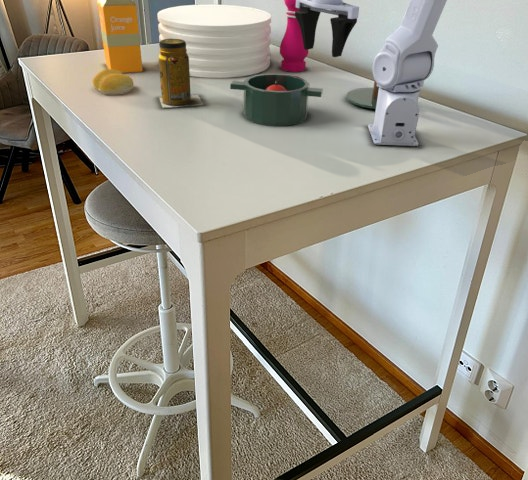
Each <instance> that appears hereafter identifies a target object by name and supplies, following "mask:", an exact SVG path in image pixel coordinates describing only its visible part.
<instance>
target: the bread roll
mask: <svg viewBox="0 0 528 480" xmlns="http://www.w3.org/2000/svg"><path fill="white" fill-rule="evenodd" d="M92 85H93V87H94V89H95V90H96V91H98V92H100V93H101V94H104V95H107V96H110V95H113V96H114V95H116V96H117V95H124V94H127V93H129V92H131V91H132V90H133V89H134V80H133V79H132V77H131V76H129V75H128V74H124V73H121V72H119V71H117V70H114V69H108V68H105V69H102V70H100V71H99V72H97V74H95V75H94V77H93V78H92Z"/></svg>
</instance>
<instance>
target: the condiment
mask: <svg viewBox="0 0 528 480" xmlns="http://www.w3.org/2000/svg"><path fill="white" fill-rule="evenodd" d="M158 45H159V55H158V66H159V67H158V69H159V78H160V79H159V81H160V82H159V83H160V90H161V96H159V97H158V98H159V101H160V104H161V107H162V109H163V108H182V107H195V106H203V105H204V103H203V102H202V100H201V98H200V95H199V94H191V76H190V73H189V57H188V55H187V53H186V52H187V49H186V42H185V41H184V40H181V39H164V40H161V41H159V43H158Z"/></svg>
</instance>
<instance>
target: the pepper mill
mask: <svg viewBox="0 0 528 480" xmlns="http://www.w3.org/2000/svg"><path fill="white" fill-rule="evenodd" d="M283 1H284V5H285V6H286V9H285V17H286V22H287V23H286V29H285V32H284V35H283V37H282V39H281V42H280V45H279V55H280V56H281V57H282V60H280V69H281V70H282V71H285V72H291V73H301V72H303V71H305V70H306V64H307V61H305V59H306V57H308V55H309V49H308V50H305V49H304V45H303V39H302V33H301V29H300V26H299V23H298V21H297V19H296V17H295V12H296V11H299V9H300V8H296V0H283Z"/></svg>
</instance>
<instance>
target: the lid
mask: <svg viewBox="0 0 528 480" xmlns="http://www.w3.org/2000/svg"><path fill="white" fill-rule="evenodd" d="M373 81H374V82H373V87H361V88H354V89H351V90H349V91H348V92H346V94H345V99H346V100H347V101H348V102H349V103H350V104H352V105H355V106H358V107H362V108H366V109H372V110H376V105H377V98H378V91H379V87H377V83H376V81H375V79H374V80H373Z"/></svg>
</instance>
